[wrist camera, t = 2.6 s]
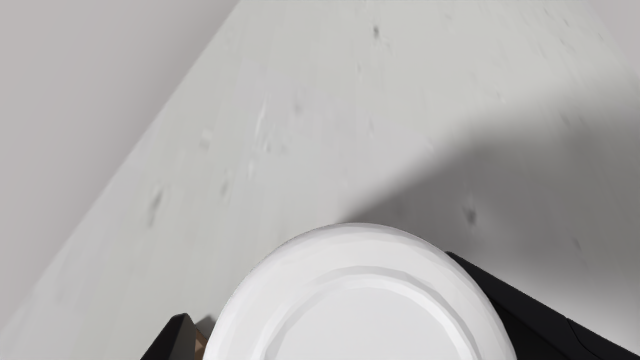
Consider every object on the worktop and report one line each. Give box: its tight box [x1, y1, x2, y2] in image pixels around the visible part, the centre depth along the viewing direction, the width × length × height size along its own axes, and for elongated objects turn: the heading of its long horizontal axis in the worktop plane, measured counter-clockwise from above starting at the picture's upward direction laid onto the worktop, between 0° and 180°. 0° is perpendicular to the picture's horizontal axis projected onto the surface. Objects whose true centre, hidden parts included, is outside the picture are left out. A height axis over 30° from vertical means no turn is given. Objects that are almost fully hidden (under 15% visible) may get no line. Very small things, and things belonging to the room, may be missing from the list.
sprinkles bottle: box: [203, 223, 517, 360], centre depth 10 cm, size 5×5×13 cm
